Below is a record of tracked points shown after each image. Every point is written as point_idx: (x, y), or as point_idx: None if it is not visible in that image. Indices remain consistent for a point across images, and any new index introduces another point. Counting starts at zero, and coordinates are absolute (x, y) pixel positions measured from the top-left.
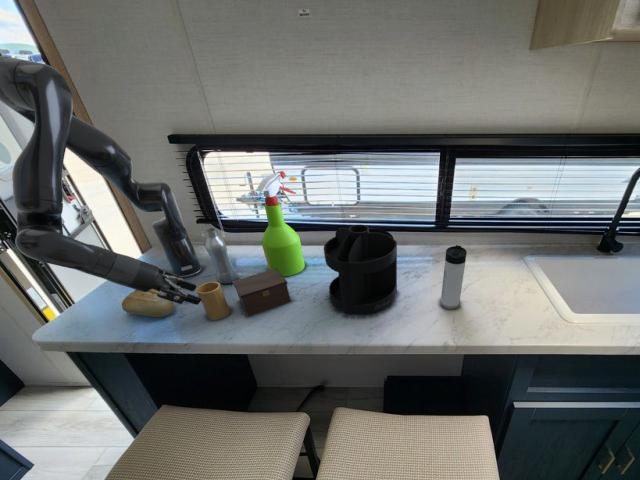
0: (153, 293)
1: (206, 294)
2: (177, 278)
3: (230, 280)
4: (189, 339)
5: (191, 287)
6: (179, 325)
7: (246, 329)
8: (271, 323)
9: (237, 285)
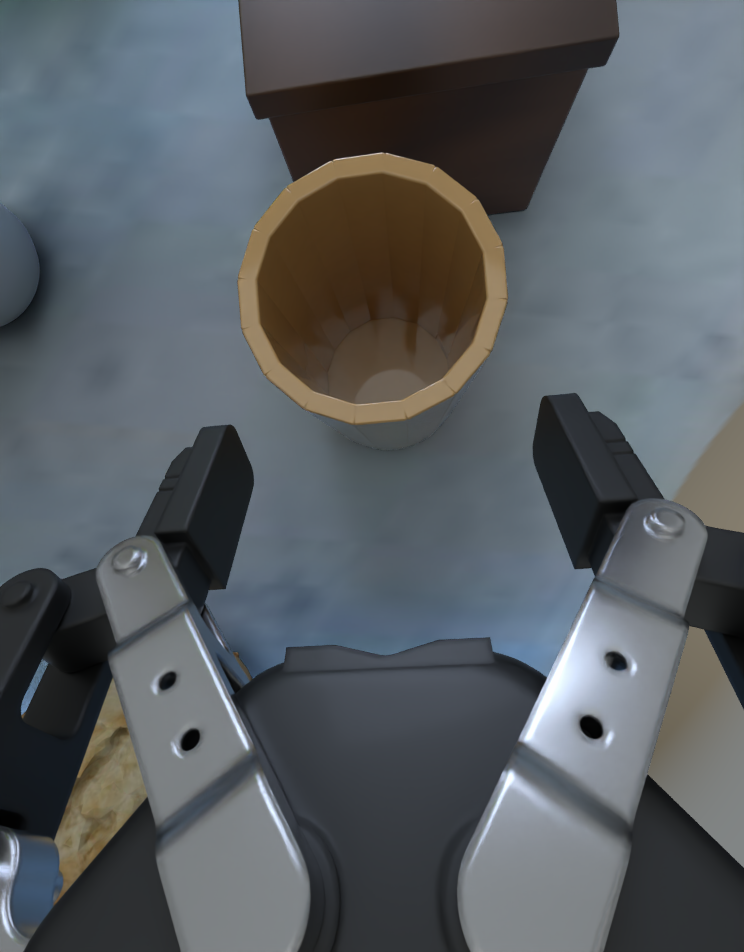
0: (66, 811)
1: (495, 330)
2: (191, 617)
3: (28, 248)
4: (586, 573)
5: (235, 476)
6: (394, 618)
7: (673, 240)
8: (695, 79)
9: (374, 45)
